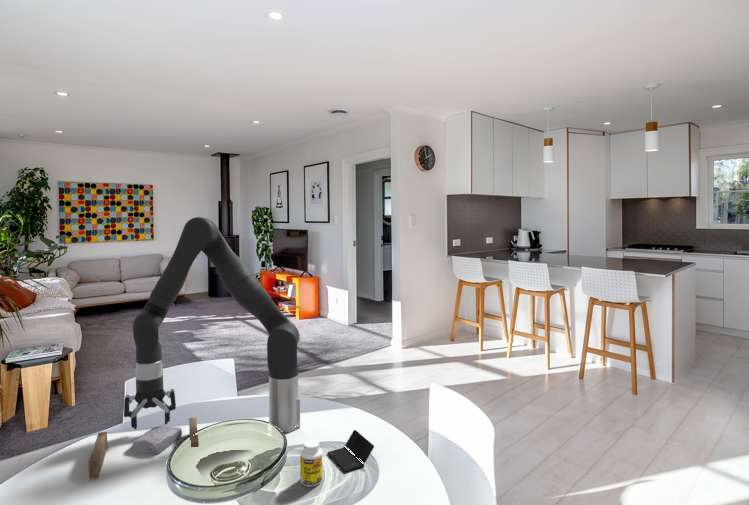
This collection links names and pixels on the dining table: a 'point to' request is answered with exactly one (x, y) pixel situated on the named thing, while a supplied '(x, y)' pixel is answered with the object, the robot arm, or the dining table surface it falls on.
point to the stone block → (157, 439)
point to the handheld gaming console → (358, 447)
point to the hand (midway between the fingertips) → (151, 425)
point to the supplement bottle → (311, 464)
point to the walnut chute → (101, 449)
